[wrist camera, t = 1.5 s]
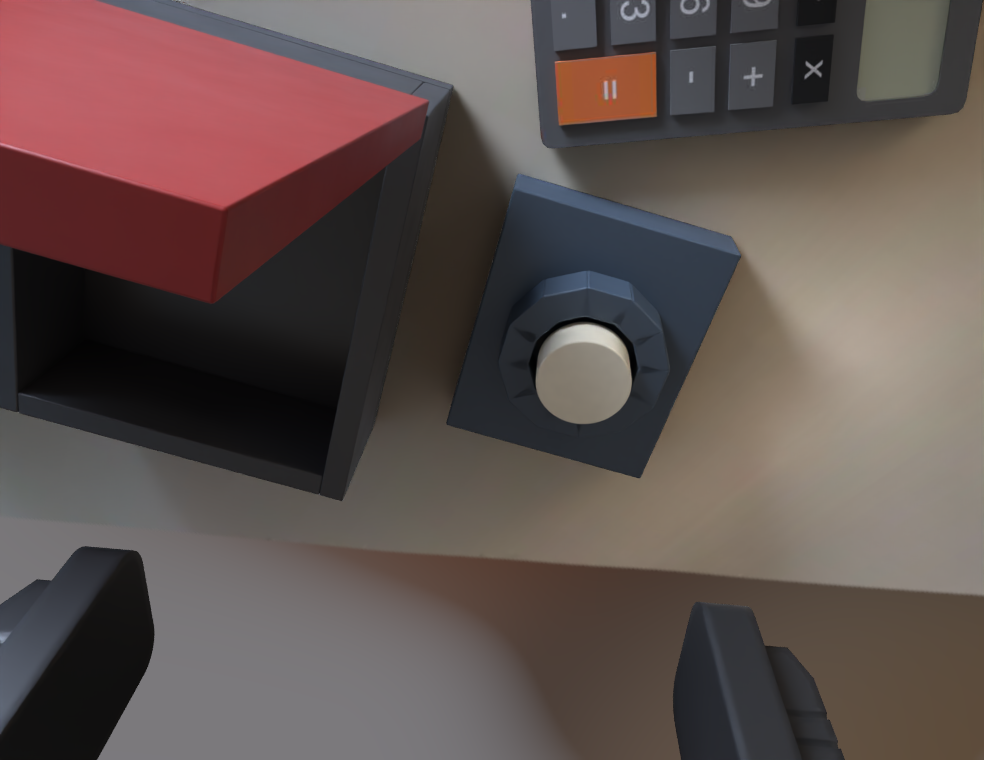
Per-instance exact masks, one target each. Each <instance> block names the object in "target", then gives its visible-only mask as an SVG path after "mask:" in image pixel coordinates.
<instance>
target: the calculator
mask: <svg viewBox="0 0 984 760" xmlns="http://www.w3.org/2000/svg"><path fill="white" fill-rule="evenodd" d="M982 2H983V0H531V10H532V23H533V37H534V50H535V63H536V77H537V90H538V104H539V117H540V130H541V139H542V142H543V144H544V145H545V146H546V147H547V148H564V147H576V146H587V145H599V144H610V143H622V142H634V141H645V140H657V139H669V138H680V137H692V136H704V135H715V134H727V133H738V132H750V131H762V130H773V129H785V128H797V127H808V126H820V125H831V124H843V123H855V122H866V121H878V120H890V119H901V118H913V117H924V116H936V115H948V114H953V113H957V112H959V111H960V110H961V109H962V108H963V107H964V104H965V101H966V98H967V92H968V86H969V80H970V74H971V68H972V62H973V56H974V50H975V44H976V38H977V32H978V26H979V20H980V14H981V8H982Z"/></svg>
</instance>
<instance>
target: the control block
mask: <svg viewBox="0 0 984 760" xmlns="http://www.w3.org/2000/svg"><path fill="white" fill-rule="evenodd" d="M740 257H741V254H740V252H739V250H738V248H737V246H736V244H735V242H734V241H733V239H732V237H731V236H728V235H724V234H721V233H717V232H714V231H711V230H707V229H704V228H701V227H697V226H694V225H691V224H687V223H684V222H680V221H677V220H674V219H670V218H667V217H664V216H660V215H657V214H653V213H650V212H647V211H643V210H640V209H637V208H633V207H630V206H626V205H623V204H620V203H616V202H613V201H610V200H606V199H603V198H599V197H596V196H593V195H589V194H586V193H583V192H579V191H576V190H572V189H569V188H566V187H562V186H559V185H556V184H552V183H549V182H546V181H542V180H539V179H535V178H532V177H529V176H525V175H522V174H518V175H517V178H516V181H515V185H514V188H513V192H512V195H511V198H510V202H509V205H508V209H507V212H506V216H505V219H504V223H503V226H502V230H501V233H500V237H499V240H498V244H497V247H496V251H495V254H494V257H493V261H492V264H491V268H490V271H489V275H488V278H487V282H486V285H485V289H484V292H483V296H482V299H481V303H480V306H479V310H478V313H477V316H476V320H475V323H474V327H473V330H472V334H471V337H470V341H469V344H468V348H467V351H466V355H465V358H464V362H463V365H462V369H461V372H460V375H459V379H458V382H457V386H456V389H455V393H454V396H453V400H452V404H451V407H450V411H449V415H448V419H447V422H446V423H447V425H450V426H453V427H457V428H460V429H464V430H468V431H471V432H475V433H478V434H482V435H485V436H489V437H493V438H496V439H500V440H503V441H507V442H511V443H514V444H518V445H521V446H525V447H528V448H532V449H536V450H539V451H543V452H546V453H550V454H554V455H557V456H561V457H564V458H568V459H571V460H575V461H579V462H582V463H586V464H589V465H593V466H597V467H600V468H604V469H607V470H611V471H614V472H618V473H622V474H625V475H629V476H632V477H636V478H640V477H641V475H642V473H643V471H644V469H645V467H646V464H647V462H648V460H649V458H650V456H651V453H652V451H653V449H654V447H655V445H656V442H657V440H658V438H659V436H660V434H661V431H662V429H663V427H664V425H665V423H666V420H667V418H668V416H669V414H670V412H671V409H672V407H673V405H674V403H675V401H676V398H677V396H678V394H679V392H680V390H681V387H682V385H683V383H684V381H685V379H686V376H687V374H688V372H689V370H690V368H691V365H692V363H693V361H694V359H695V357H696V354H697V352H698V350H699V348H700V346H701V343H702V341H703V339H704V337H705V335H706V332H707V330H708V328H709V326H710V324H711V321H712V319H713V317H714V315H715V313H716V310H717V308H718V306H719V304H720V301H721V299H722V297H723V295H724V293H725V290H726V288H727V286H728V284H729V282H730V279H731V277H732V275H733V273H734V271H735V268H736V266H737V264H738V262H739V260H740ZM575 322H592V323H597V324H600V325H603V326H605V327H607V328H609V329H611V330H612V331H613V332H615V333H616V334H617V335H618V336H619V337H620V338H621V339H622V341H623V342H624V344H625V346H626V348H627V351H628V354H629V361H630V369H631V377H632V387H631V392H630V395H629V397H628V399H627V401H626V403H625V404H624V405H623V407H622V408H621V409H620V410H619V411H618V412H617V413H615V414H614V415H613V416H611V417H609V418H607V419H605V420H603V421H600V422H596V423H591V424H576V423H571V422H567V421H564V420H562V419H560V418H558V417H556V416H555V415H553V414H552V413H551V412H549V411H548V410H547V409H546V408H545V406H544V405H543V404H542V402H541V401H540V399H539V397H538V394H537V390H536V370H537V360H538V354H539V350H540V348H541V346H542V344H543V342H544V341H545V340H546V338H547V337H548V336H549V335H550V334H551V333H552V332H554V331H555V330H557V329H558V328H560V327H562V326H565V325H567V324H571V323H575Z"/></svg>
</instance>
